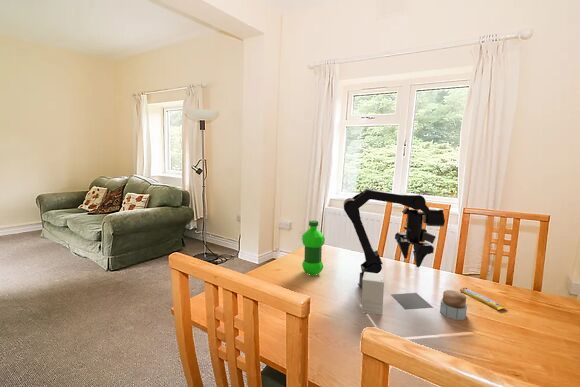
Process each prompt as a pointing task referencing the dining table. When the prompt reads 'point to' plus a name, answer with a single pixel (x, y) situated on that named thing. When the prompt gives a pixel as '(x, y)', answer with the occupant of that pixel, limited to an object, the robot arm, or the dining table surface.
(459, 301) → the tan rounded dome
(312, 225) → the plastic bottle
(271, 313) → the dining table surface
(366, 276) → the supplement box
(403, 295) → the mat
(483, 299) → the candy bar
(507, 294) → the dining table surface
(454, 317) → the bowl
